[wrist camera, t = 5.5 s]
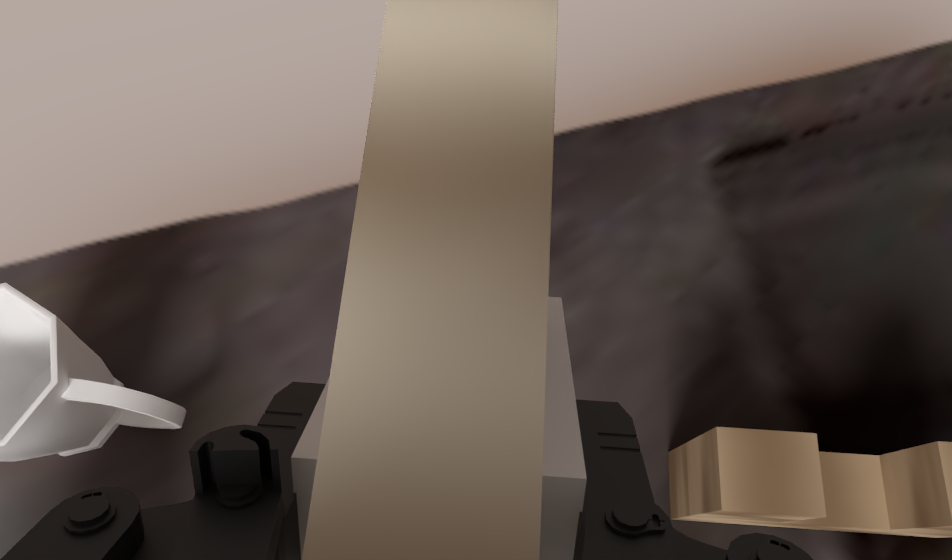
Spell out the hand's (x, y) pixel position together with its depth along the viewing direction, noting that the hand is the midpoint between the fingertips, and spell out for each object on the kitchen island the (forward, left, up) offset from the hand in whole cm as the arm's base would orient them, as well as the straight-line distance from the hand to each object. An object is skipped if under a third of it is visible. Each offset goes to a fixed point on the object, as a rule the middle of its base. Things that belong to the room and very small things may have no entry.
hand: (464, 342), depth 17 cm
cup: (+17, +4, -17) cm, 24 cm away
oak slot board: (-15, -3, -17) cm, 23 cm away
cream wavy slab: (0, +1, -3) cm, 3 cm away
